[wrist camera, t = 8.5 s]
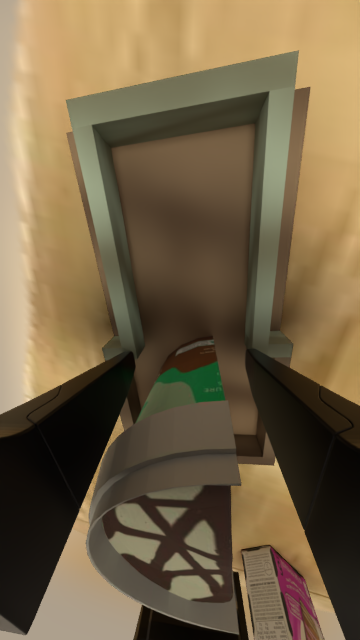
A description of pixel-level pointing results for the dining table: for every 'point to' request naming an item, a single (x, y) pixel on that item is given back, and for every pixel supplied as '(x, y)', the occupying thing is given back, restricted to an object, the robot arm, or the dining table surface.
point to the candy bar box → (278, 598)
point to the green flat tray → (195, 220)
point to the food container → (172, 497)
